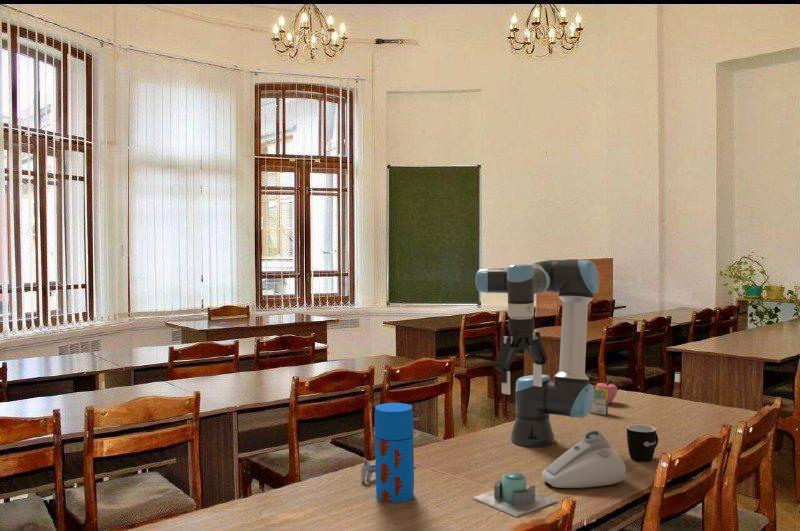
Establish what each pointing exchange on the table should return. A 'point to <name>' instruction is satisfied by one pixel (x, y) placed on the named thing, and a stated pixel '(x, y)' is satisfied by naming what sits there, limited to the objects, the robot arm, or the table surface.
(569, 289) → the robot arm
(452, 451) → the table surface
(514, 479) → the cap
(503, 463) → the table surface
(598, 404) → the crayon box
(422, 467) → the table surface
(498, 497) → the cradle fixture plate
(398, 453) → the thermos
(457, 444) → the table surface
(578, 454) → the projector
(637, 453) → the mug
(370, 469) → the caliper
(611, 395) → the apple
